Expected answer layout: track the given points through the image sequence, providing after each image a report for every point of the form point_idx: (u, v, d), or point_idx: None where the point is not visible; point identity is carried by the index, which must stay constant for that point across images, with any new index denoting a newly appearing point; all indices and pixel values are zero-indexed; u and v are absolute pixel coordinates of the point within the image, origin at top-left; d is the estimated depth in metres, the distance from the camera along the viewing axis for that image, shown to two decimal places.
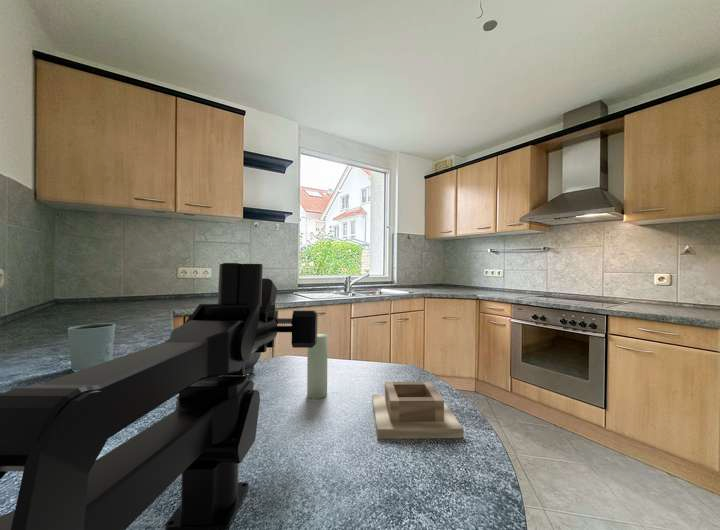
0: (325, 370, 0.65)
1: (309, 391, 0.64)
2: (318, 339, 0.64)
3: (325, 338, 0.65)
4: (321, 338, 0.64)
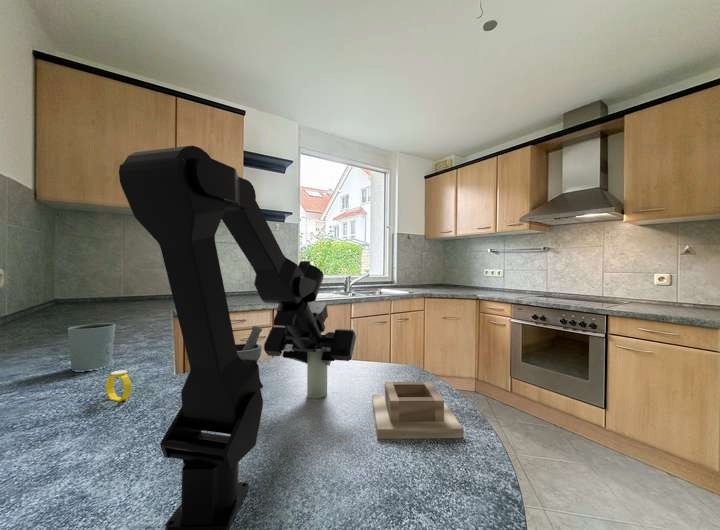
0: (325, 370, 0.65)
1: (309, 391, 0.64)
2: None
3: None
4: None
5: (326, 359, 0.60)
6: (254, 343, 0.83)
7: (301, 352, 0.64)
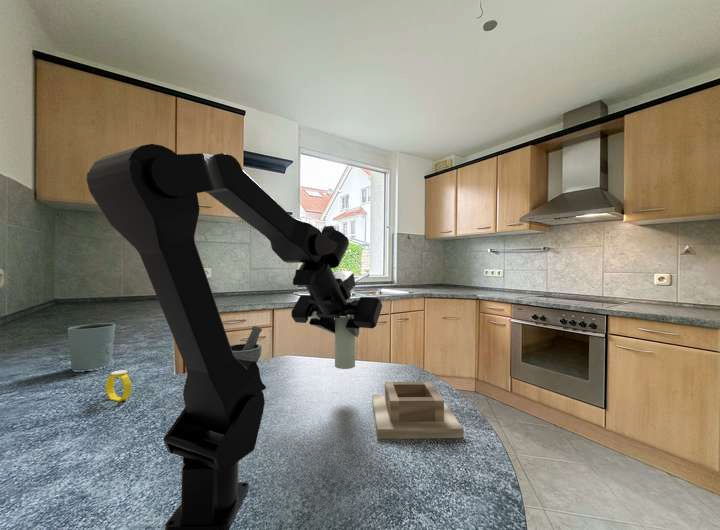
0: (352, 340, 0.63)
1: (336, 361, 0.63)
2: None
3: None
4: None
5: (350, 326, 0.58)
6: (254, 343, 0.83)
7: (328, 321, 0.63)
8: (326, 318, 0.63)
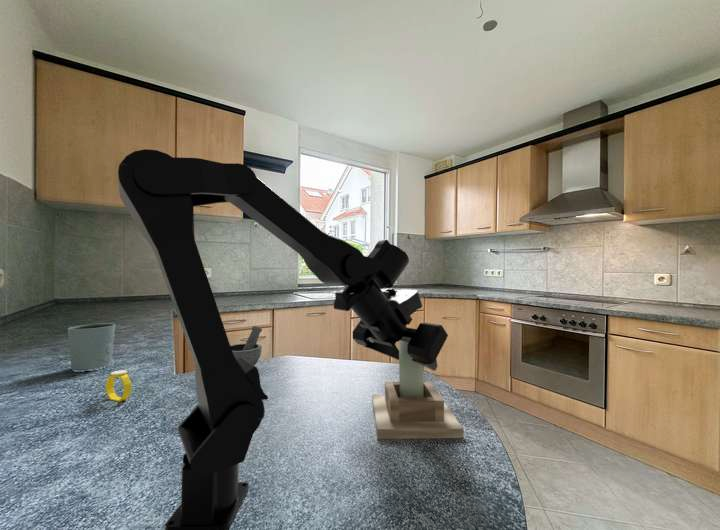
0: (418, 382, 0.53)
1: None
2: (407, 343, 0.54)
3: None
4: None
5: (417, 360, 0.47)
6: (254, 343, 0.83)
7: (384, 344, 0.57)
8: None
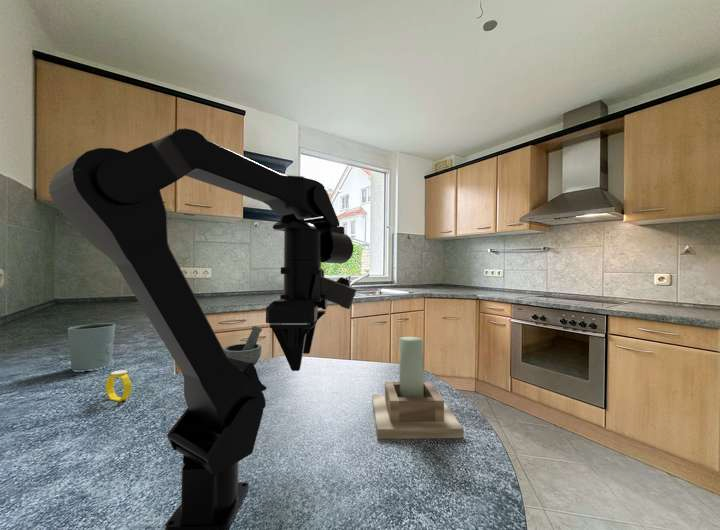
0: (418, 382, 0.53)
1: None
2: (407, 343, 0.54)
3: (417, 343, 0.53)
4: (411, 342, 0.53)
5: None
6: (254, 343, 0.83)
7: None
8: None
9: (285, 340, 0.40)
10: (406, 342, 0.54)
